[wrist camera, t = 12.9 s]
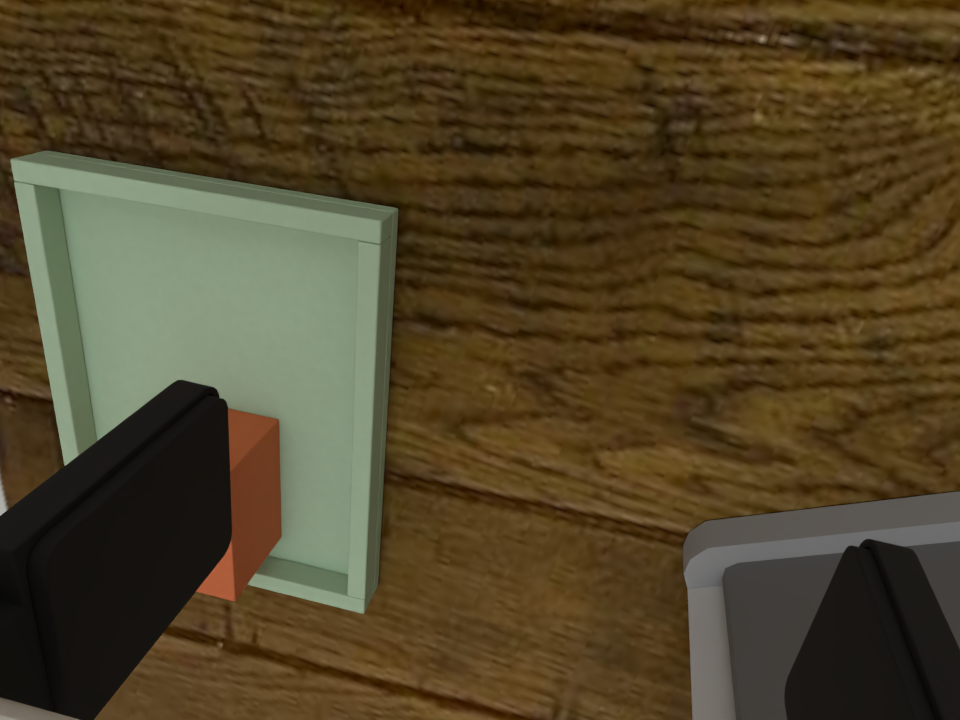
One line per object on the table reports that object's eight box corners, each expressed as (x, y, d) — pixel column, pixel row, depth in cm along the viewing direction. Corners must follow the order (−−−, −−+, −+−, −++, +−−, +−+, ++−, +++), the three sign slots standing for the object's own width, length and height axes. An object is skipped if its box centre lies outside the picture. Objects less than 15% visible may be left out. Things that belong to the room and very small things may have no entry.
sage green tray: (46, 149, 27) (9, 158, 26) (399, 207, 25) (381, 221, 24) (104, 518, 35) (77, 542, 34) (378, 585, 33) (364, 614, 32)
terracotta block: (165, 394, 30) (99, 445, 27) (279, 418, 30) (227, 475, 26) (177, 511, 33) (118, 572, 30) (282, 537, 32) (235, 602, 29)
